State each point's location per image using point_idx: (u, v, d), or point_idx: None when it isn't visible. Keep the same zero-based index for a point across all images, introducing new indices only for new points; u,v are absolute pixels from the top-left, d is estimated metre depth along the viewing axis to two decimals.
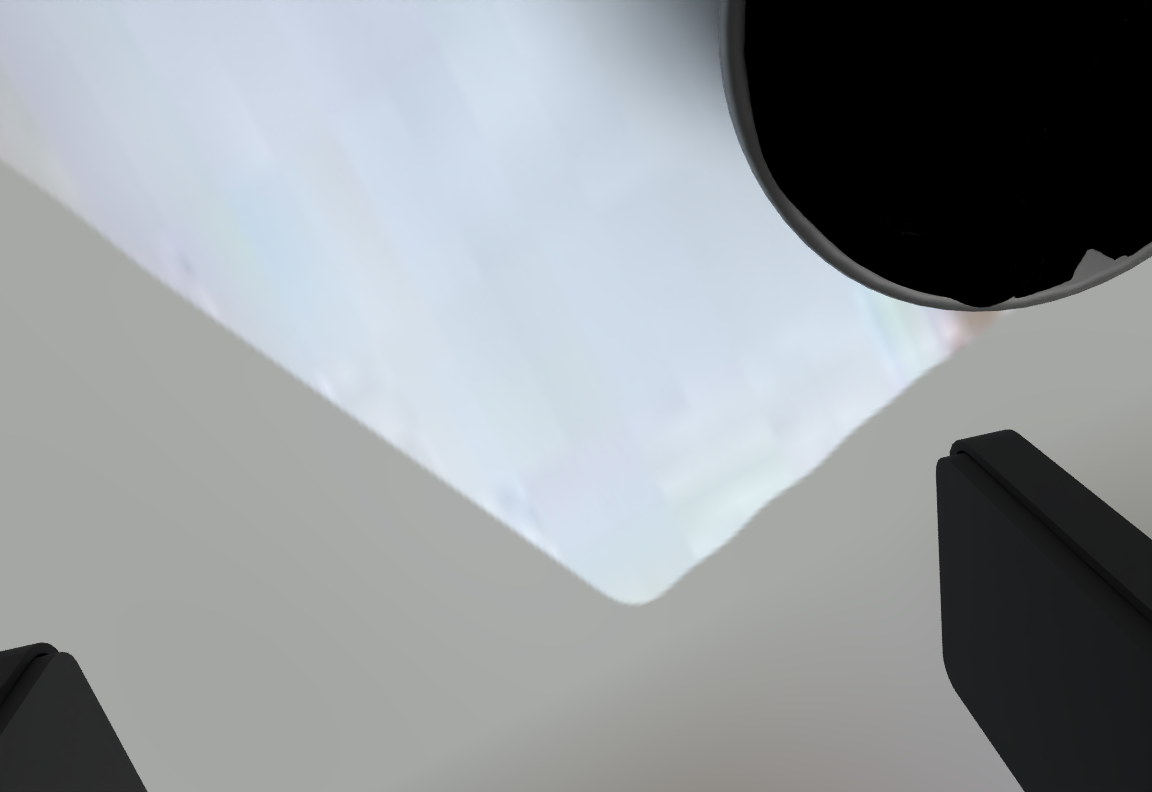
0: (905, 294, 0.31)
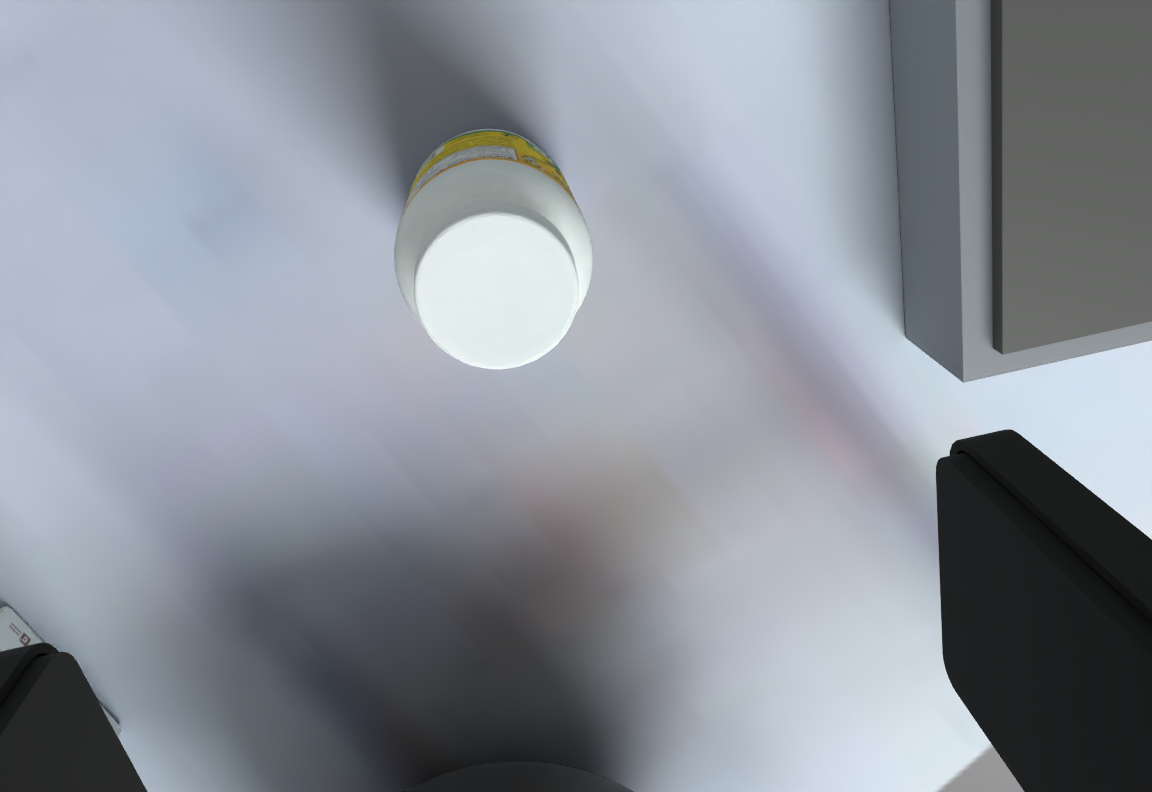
0: None
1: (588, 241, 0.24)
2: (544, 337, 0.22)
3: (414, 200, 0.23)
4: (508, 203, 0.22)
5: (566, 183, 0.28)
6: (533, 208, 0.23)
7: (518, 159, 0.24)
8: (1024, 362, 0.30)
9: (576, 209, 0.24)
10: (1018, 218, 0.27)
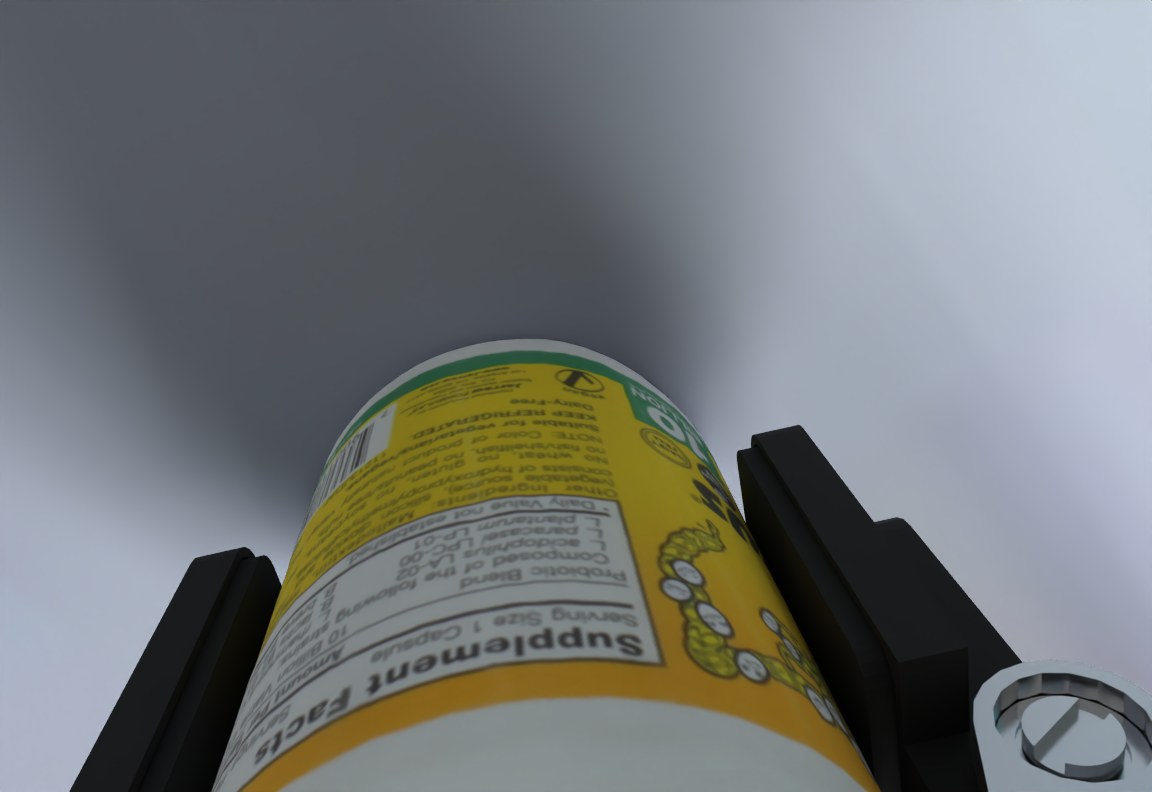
0: None
1: None
2: None
3: None
4: None
5: (746, 526, 0.10)
6: None
7: (660, 643, 0.06)
8: None
9: None
10: None
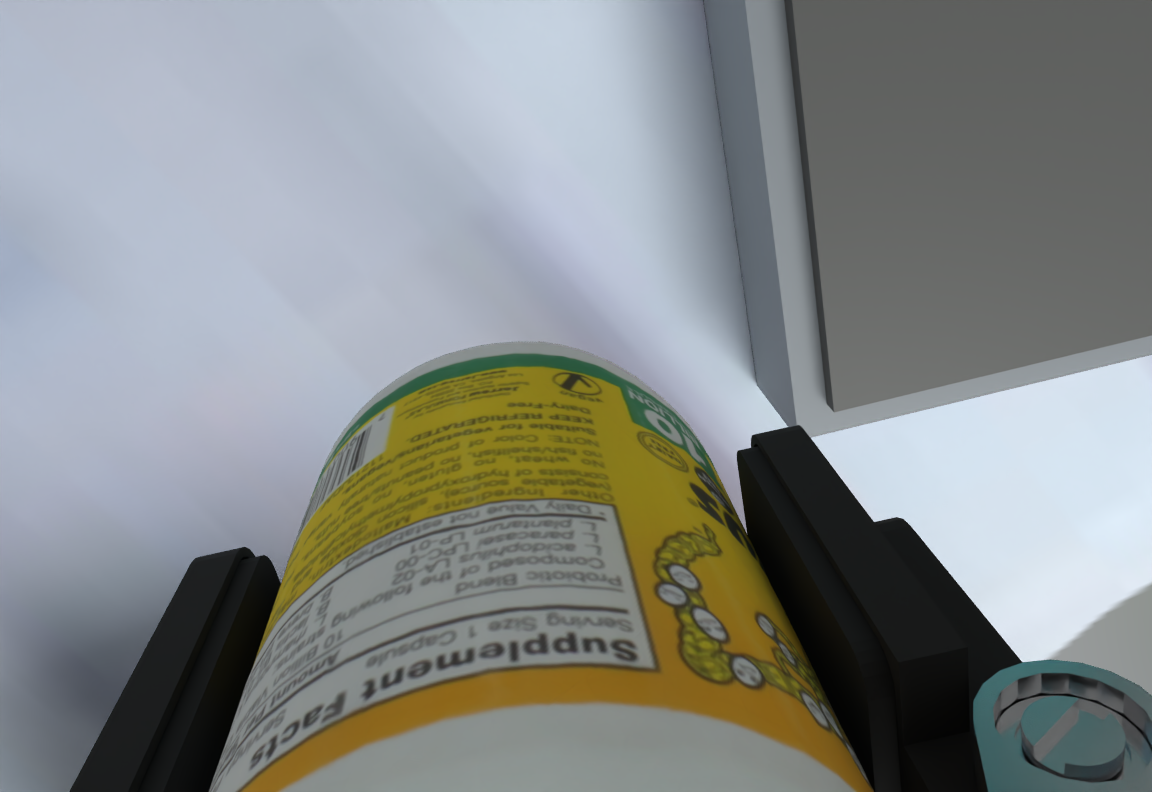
0: None
1: None
2: None
3: None
4: None
5: (744, 529, 0.10)
6: None
7: (655, 648, 0.06)
8: (862, 418, 0.28)
9: None
10: (837, 270, 0.25)
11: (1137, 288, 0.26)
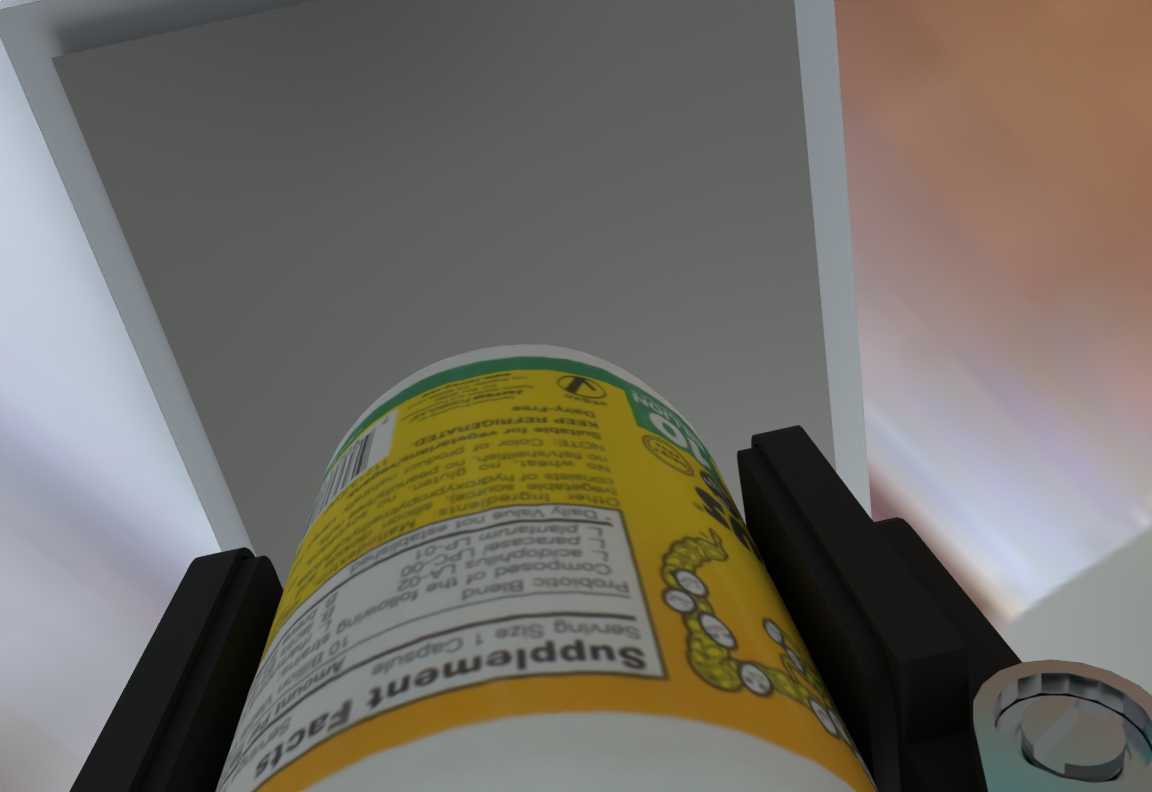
0: None
1: None
2: None
3: None
4: None
5: (749, 533, 0.10)
6: None
7: (663, 656, 0.06)
8: None
9: None
10: (253, 492, 0.21)
11: None
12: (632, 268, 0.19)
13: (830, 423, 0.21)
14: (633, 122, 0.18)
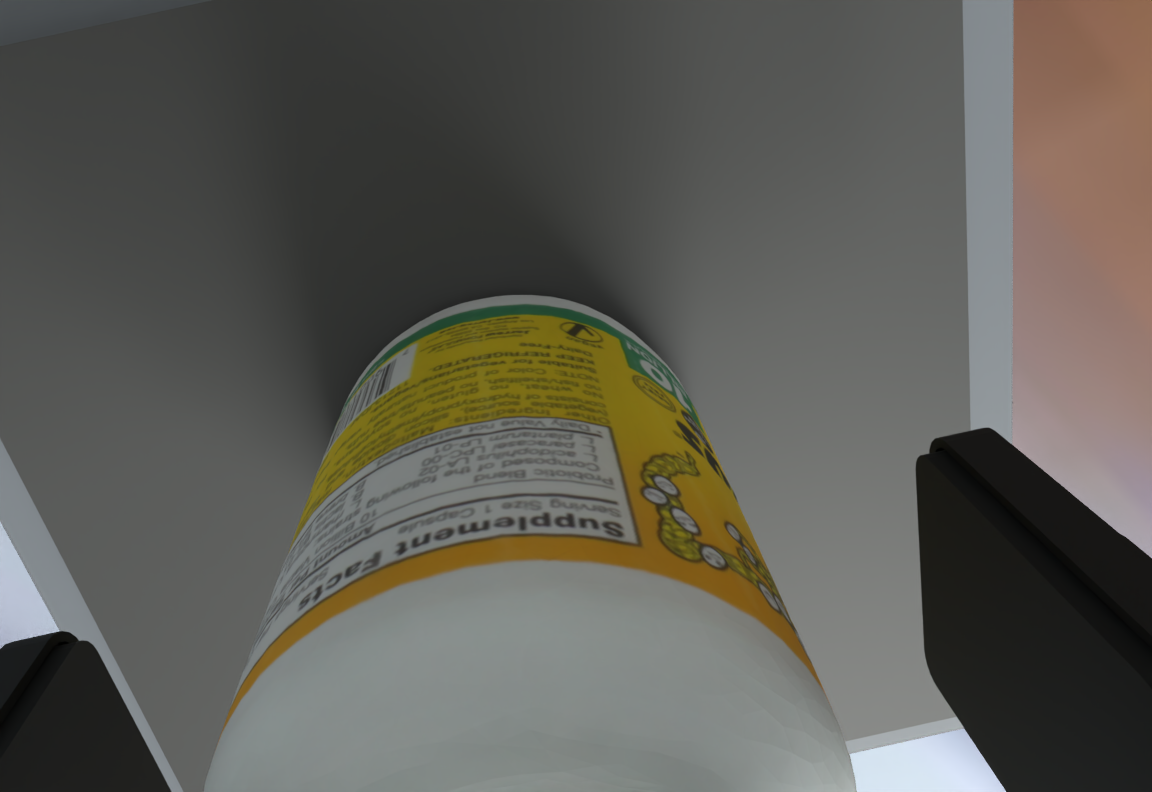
0: None
1: None
2: None
3: (263, 700, 0.06)
4: None
5: None
6: (703, 789, 0.06)
7: (638, 530, 0.07)
8: None
9: (833, 732, 0.07)
10: (164, 690, 0.15)
11: None
12: (704, 385, 0.13)
13: None
14: (714, 179, 0.12)
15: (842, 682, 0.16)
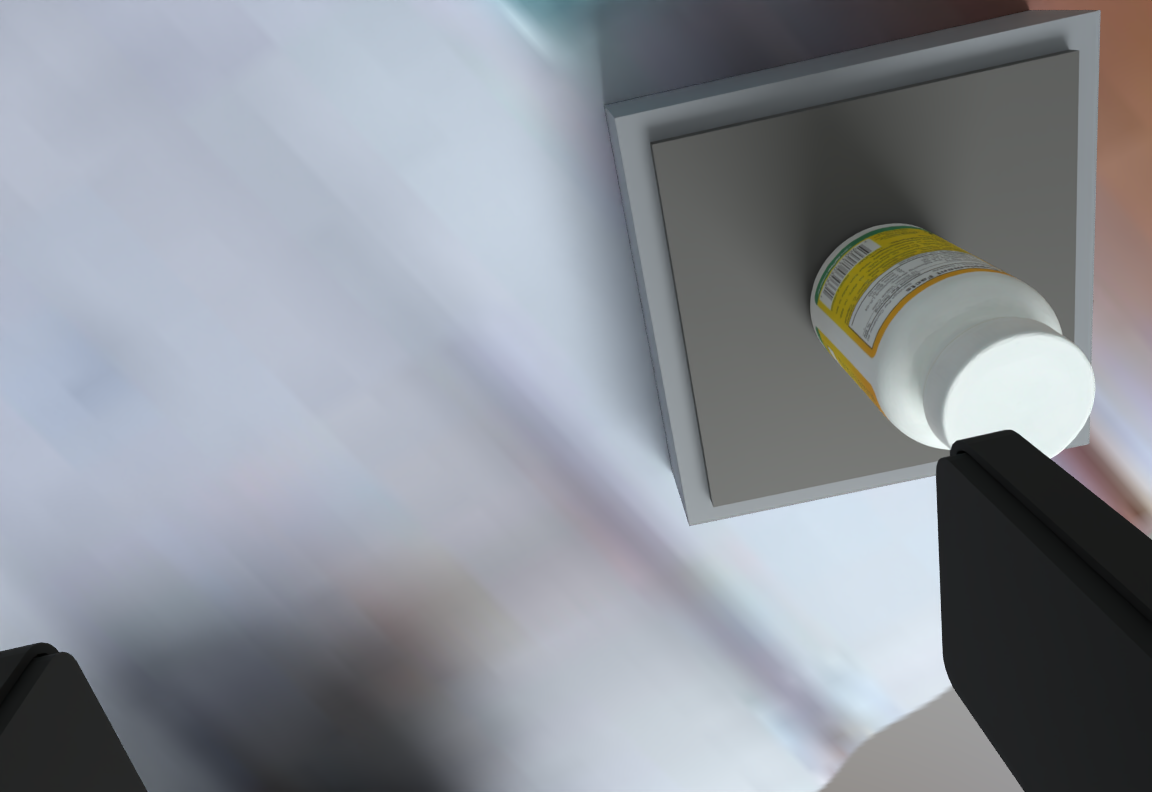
0: None
1: None
2: (1049, 447, 0.24)
3: (914, 305, 0.25)
4: (1033, 321, 0.23)
5: None
6: None
7: (1001, 270, 0.25)
8: (739, 510, 0.36)
9: None
10: (709, 404, 0.33)
11: None
12: None
13: None
14: (974, 178, 0.30)
15: None
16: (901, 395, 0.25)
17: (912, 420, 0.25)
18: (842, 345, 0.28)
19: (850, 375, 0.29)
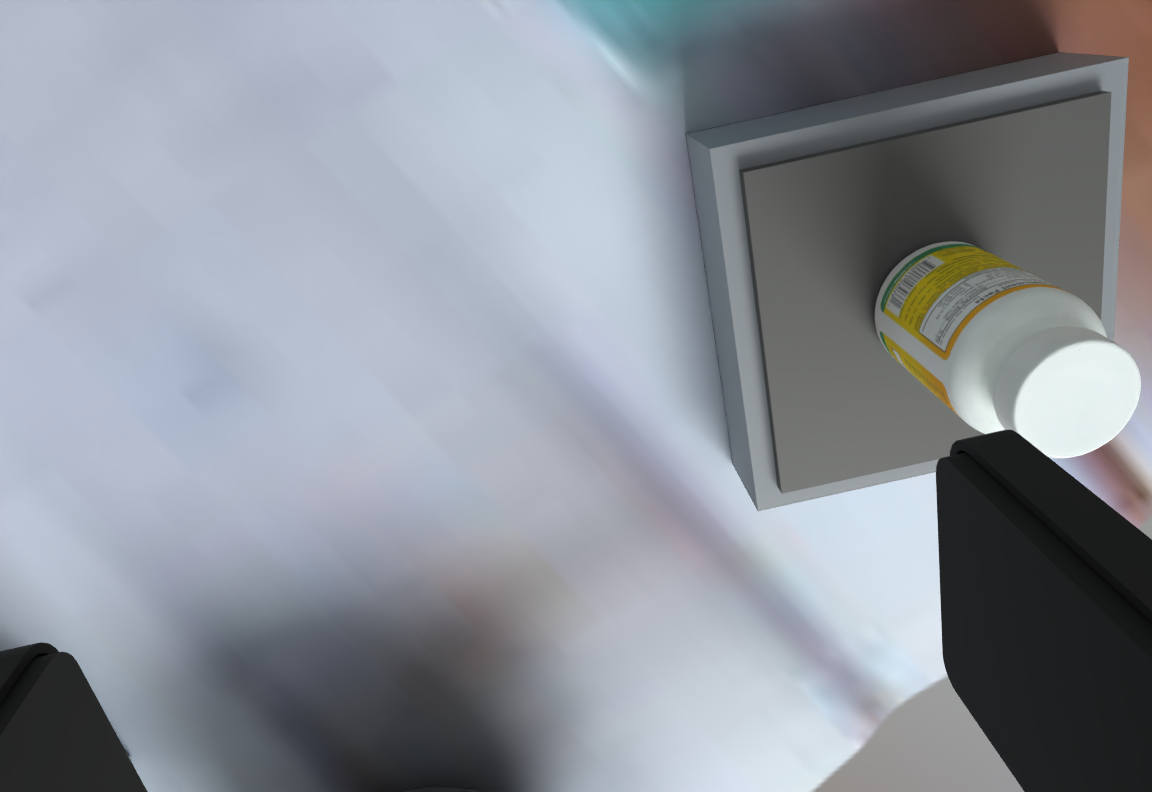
0: None
1: None
2: (1100, 436, 0.28)
3: (985, 315, 0.29)
4: (1090, 330, 0.27)
5: None
6: None
7: (1056, 286, 0.30)
8: (803, 496, 0.40)
9: None
10: (782, 401, 0.37)
11: None
12: None
13: None
14: (1019, 201, 0.35)
15: None
16: (971, 392, 0.29)
17: (979, 414, 0.30)
18: (911, 348, 0.32)
19: (916, 374, 0.33)
